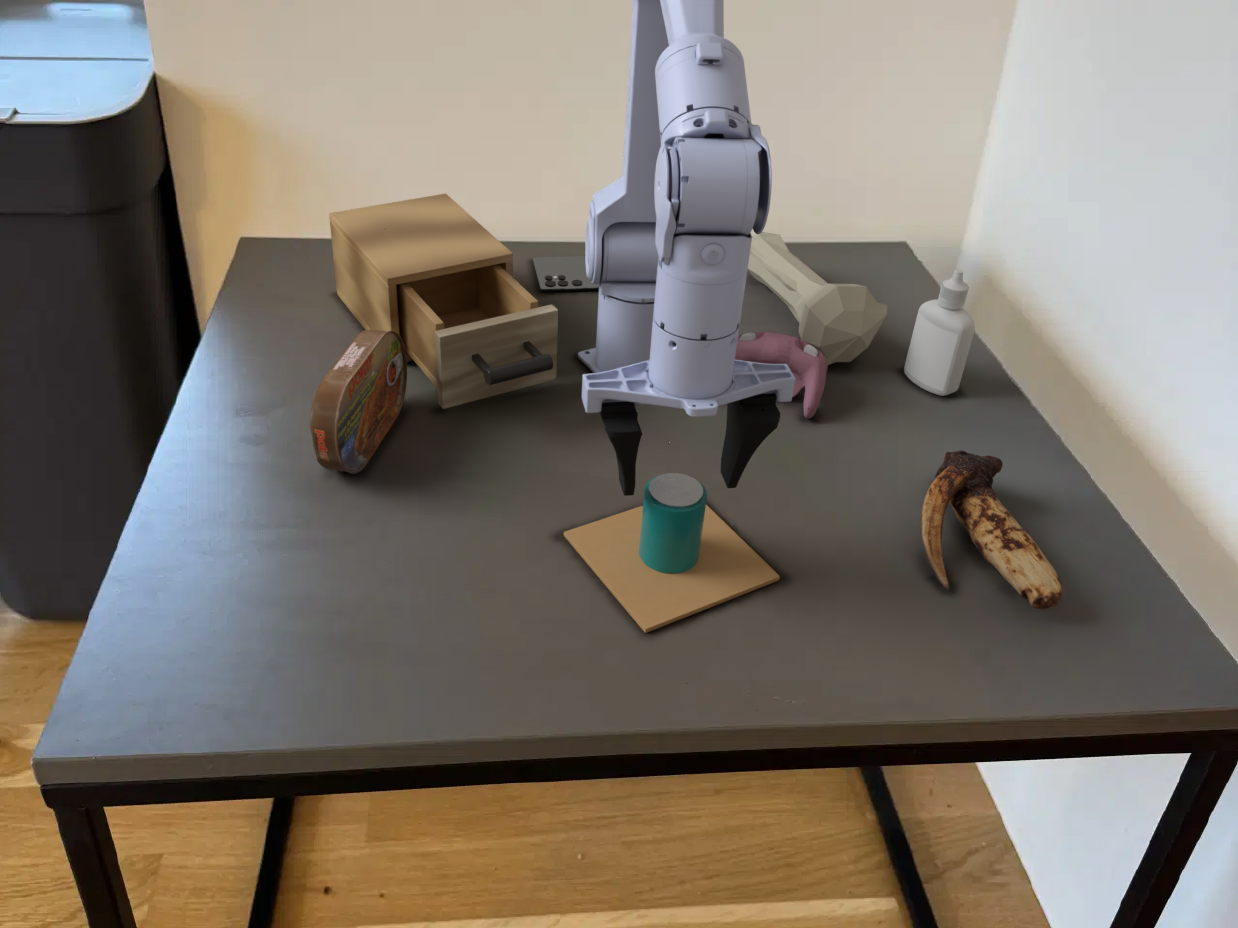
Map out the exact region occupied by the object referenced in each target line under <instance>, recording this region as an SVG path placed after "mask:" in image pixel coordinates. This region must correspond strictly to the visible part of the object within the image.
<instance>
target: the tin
mask: <svg viewBox="0 0 1238 928" xmlns="http://www.w3.org/2000/svg"><path fill="white" fill-rule="evenodd" d="M407 382H408V362H407V357H406V351H405V347H404V343H403V340H402V338H401V337H400V335H399V334H398V333H397V332H395V331H392V330H390V331H379V330H365V329H364V330H362V331H360V332H359V333H358V334H357V335H356V336H355V337H354V338H353V339H352V340H351V342H350V343H349V344H348V346H347V347H346V348H345V350H344V351H343V352H342V353H341V355H340V356H339V357H338V358H337V360H336V361H335V362H334V364H333V365H332V366H331V368H330V369H329V370H328V372H327V373H326V374H325V375H324V376H323V378H321V380H320V382H319V384H318V386H317V388H316V390H315V393H314V394H313V398H312V403H311V407H310V415H309V430H310V434H311V440H312V445H313V450H314V454H315V457H316V461H317V463H318V464H319V465H320V466H321V467H322V468H324V469H327V470H330V471H331V470H332V471H339V472H347V473H349V474H357V473H360V472H361V471H363V470H364V468H366V466H367V465H368V463H369V462H370V460H371V458H372V457H373V455H375V452H377V449H378V448H379V446H380V445H381V443H382V442H383V441H384V438H385V437H386V436H387V434H388V432H389V431H390V429H391V428H392V426H393V425H394V423H395V422H396V420H397V419H398V417H399V415H400V413H401V410H402V407H403V406H404V400H405V397H406V393H407V392H406V391H407Z"/></svg>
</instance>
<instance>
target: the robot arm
mask: <svg viewBox="0 0 1238 928" xmlns="http://www.w3.org/2000/svg"><path fill="white" fill-rule="evenodd" d="M724 3H725V2H724V0H631V4H632V6H631V8H632V9H631V21H630V22H631V24H630V26H631V27H630V39H629V54H628V55H629V57H628V73H627V87H626V89H627V91H626V107H625V119H624V120H625V122H624V135H623V136H624V140H623V141H624V142H623V155H622V157H623V158H622V169H621V170H622V171H621V176H620V177H618V178H617V179H616V180H614V181H613V182H611V183H610V184H608V185H606V186H604V187H603V188H601V189H600V190H598V191H597V192H595V193H594V194H593V195H591V200H590V201H589V205H588V218H587V220H586V225H585V243H584V253H585V254H584V256H585V264H586V275H587V278H588V279H589V280H590V281H591V282H592V284H599V290H598V298H597V299H598V300H597V301H598V303H597V318H596V319H597V320H596V336H595V337H596V338H595V347H593V348H589V349H585V350H581V351H579V352H577V359H579V360H580V361H581V362H582V363H583V364H584V366H586V367H587V368H588V369H589V370H590V371H591V372H592V373H583V374H582V377H581V378H582V380H581V381H582V382H581V401H582V404H583V408H584V411H585V413H586V414H594V413H595V414H596V413H597V414H599V415H600V419H601V423H602V424H603V428H604V430H605V433H606V435H607V437H608V439H609V442H610V443H611V445H612V447H613V450H614V451H615V457H616V461H617V469H618V481H619V484H620V487H621V491H622V494H623V495H624V497H625V496H626V497H627V496H634V495H635V491H636V474H637V473H636V471H637V469H636V468H637V467H636V465H637V458H638V452H639V448H640V443H641V440H642V436H643V431H642V428H641V425H640V422H639V421H638V416H639V413H638V411H637V409H636V406H641V405H650V406H658V407H665V408H672V409H680V410H684V412H685V413H686V414H687V415H688V416H689V417H692V418H702V417H713V416H716V415H717V414H718V410H719V407H720V406H724V405H727V406H726V424H725V425H726V428H725V435H724V441H723V446H722V452H721V456H720V474H721V477H722V478H723V481H724V483H725V486H726V488H727V489H736V488H737V487H738V484H739V481H740V480H741V478H742V475H743V473H744V472H745V469H746V468H747V466H748V463H749V462H750V460H751V458H752V457H753V455H755V452H756V451H757V450H758V448H759V447H760V445H761V444H762V443H763V442H764V440H766V439H767V438H768V437H769V436H770V435H771V434H772V433H773V432H774V431H775V430H776V429H778V426H779V424H780V420H781V412H780V409H779V407H778V406H777V402H778V403H787V402H789V403H790V402H792V400H793V397H792V395H793V390H794V384H795V377H794V375H793V373H792V372H791V370H790V368H789V367H788V365H787V364H766V363H757V362H750V361H742V360H735V354H736V347H737V340H738V336H739V333H740V325H741V318H742V313H743V305H744V297H745V291H746V285H747V284H746V283H747V276H748V263H749V256H750V249H751V242H752V236H753V235H752V233H751V232H752V231H753V232H754V234H760V233H761V232H764V229H765V227H766V224H767V222H768V217H769V214H770V213H769V212H770V207H771V199H772V187H773V186H772V185H773V184H772V182H773V180H772V179H773V176H772V175H773V173H772V171H773V169H772V159H771V152H770V146H769V143H768V140H767V138H766V137H765V136H763V134H762V130H761V126H760V125H759V124H753V123H752V115H751V107H750V100H749V92H748V91H749V90H748V84H747V76H746V75H747V74H746V68H745V59H744V56H743V54H742V52H741V50H740V49H739V48H738V46H737V45H736V44H734V43H733V42H732V41H731V40H730V39H728V38H725V33H724V31H725V24H724V21H725V20H724V19H725V15H724V13H725V12H724V11H725V9H724V8H725V6H724Z"/></svg>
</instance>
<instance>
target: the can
mask: <svg viewBox="0 0 1238 928" xmlns="http://www.w3.org/2000/svg"><path fill="white" fill-rule="evenodd" d="M643 493H644V494H643V503H642V506H643V512H642V522H641V533H640V544H639V555H640V558H641V560H642V561H643V562H644V563H645V564H646V565H647V566H648V567H650V568H651V569H653V570H656V571H659V572H663V573H672V574H673V573H681V572H685V571H687V570H689V569H691V568H692V567H693V566H694V565H695V564H696V563H697V561H698V558H699V552H700V545H701V537H702V530H703V522H704V515H705V507H706V505H707V498H708V492H707V490H706V488H705V486H704V485H703V483H702V482H700V481H699V480H698V479H696V478H694V477H692V476H690V475H688V474H685V473H681V472H680V473H679V472H666V473H662V474H659V475H656V476H654V477H652V478H651V479H650V480H649V481H648V482H646V484H645V486H644V492H643Z"/></svg>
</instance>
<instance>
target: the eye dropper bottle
mask: <svg viewBox="0 0 1238 928" xmlns="http://www.w3.org/2000/svg"><path fill="white" fill-rule="evenodd" d="M940 285H941V286H940V289H939V294H938V298H937V299H930V300H927V301H925V302H924V303H922V304H921V305H920V306H919V307H918V311H917V314H916V318H915V321H914V326H913V330H912V334H911V338H910V341H909V346H908V350H907V354H906V357H905V362H904V366H903V373H904V374H905V376H906V377H907V378H908V379H909V380H910V381H911V382H912V383H913V384H914V385H916V386H917V387H919V388H921V389H922V390H923V391H924V390H925V391H926V392H929V393H931V394H933V395H937V396H939V397H940V396H941V397H944V396H950V395H951V394H954V393H957V391H958V390H959V388H960V385H961V381H962V378H963V374H964V370H965V367H966V364H967V360H968V356H969V352H970V349H971V345H972V342H973V338H974V334H975V331H976V324H975V321H974V318H973V317H972V316H971V314H970V313H969V312H968V311H967V309H965V308H964V307H965V303H966V299H967V296H968V292H969V288H970V287H969V284H968V283H967V282H965V281H964V271H963V270H962V269H959V268H958V269H955V270H954V272H953V274H952V277H950V278H947V279H944V280H943V281H941V284H940Z"/></svg>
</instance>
